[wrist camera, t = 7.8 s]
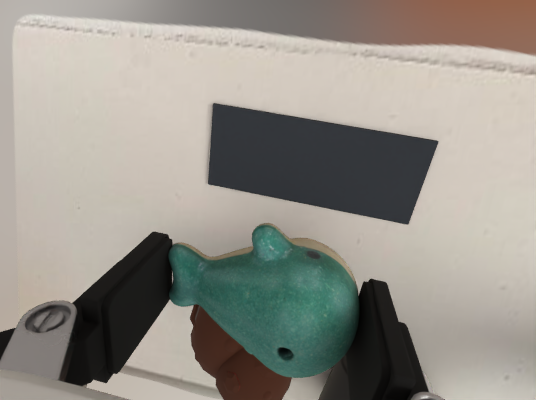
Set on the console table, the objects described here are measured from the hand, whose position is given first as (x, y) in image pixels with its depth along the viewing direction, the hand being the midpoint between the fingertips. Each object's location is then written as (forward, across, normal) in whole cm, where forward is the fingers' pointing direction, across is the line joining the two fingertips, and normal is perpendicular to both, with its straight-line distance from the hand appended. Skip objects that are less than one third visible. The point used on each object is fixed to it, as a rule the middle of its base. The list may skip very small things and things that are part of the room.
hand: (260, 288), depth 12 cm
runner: (+19, -1, 0) cm, 19 cm away
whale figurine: (+1, 0, 0) cm, 1 cm away
